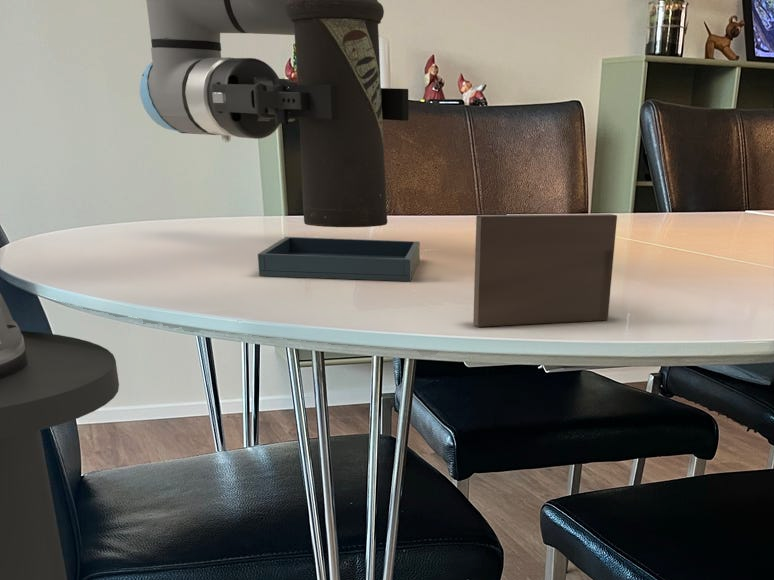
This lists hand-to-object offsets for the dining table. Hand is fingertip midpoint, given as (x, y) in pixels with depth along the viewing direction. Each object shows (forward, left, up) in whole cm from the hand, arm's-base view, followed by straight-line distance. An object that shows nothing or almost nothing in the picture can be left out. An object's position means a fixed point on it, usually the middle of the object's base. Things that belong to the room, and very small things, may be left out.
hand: (370, 103), depth 93 cm
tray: (-5, +2, -15) cm, 16 cm away
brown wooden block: (+19, -9, -15) cm, 26 cm away
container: (-4, +2, -11) cm, 12 cm away
